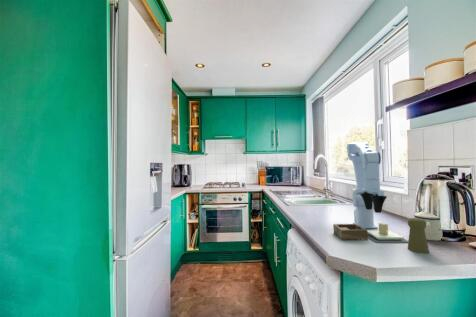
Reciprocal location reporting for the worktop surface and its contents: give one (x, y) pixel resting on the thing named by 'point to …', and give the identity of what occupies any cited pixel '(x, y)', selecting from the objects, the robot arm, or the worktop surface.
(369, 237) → the slate mat
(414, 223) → the olive pepper mill
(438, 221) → the teacup with lid
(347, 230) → the box
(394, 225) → the worktop surface
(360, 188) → the robot arm
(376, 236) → the lid
